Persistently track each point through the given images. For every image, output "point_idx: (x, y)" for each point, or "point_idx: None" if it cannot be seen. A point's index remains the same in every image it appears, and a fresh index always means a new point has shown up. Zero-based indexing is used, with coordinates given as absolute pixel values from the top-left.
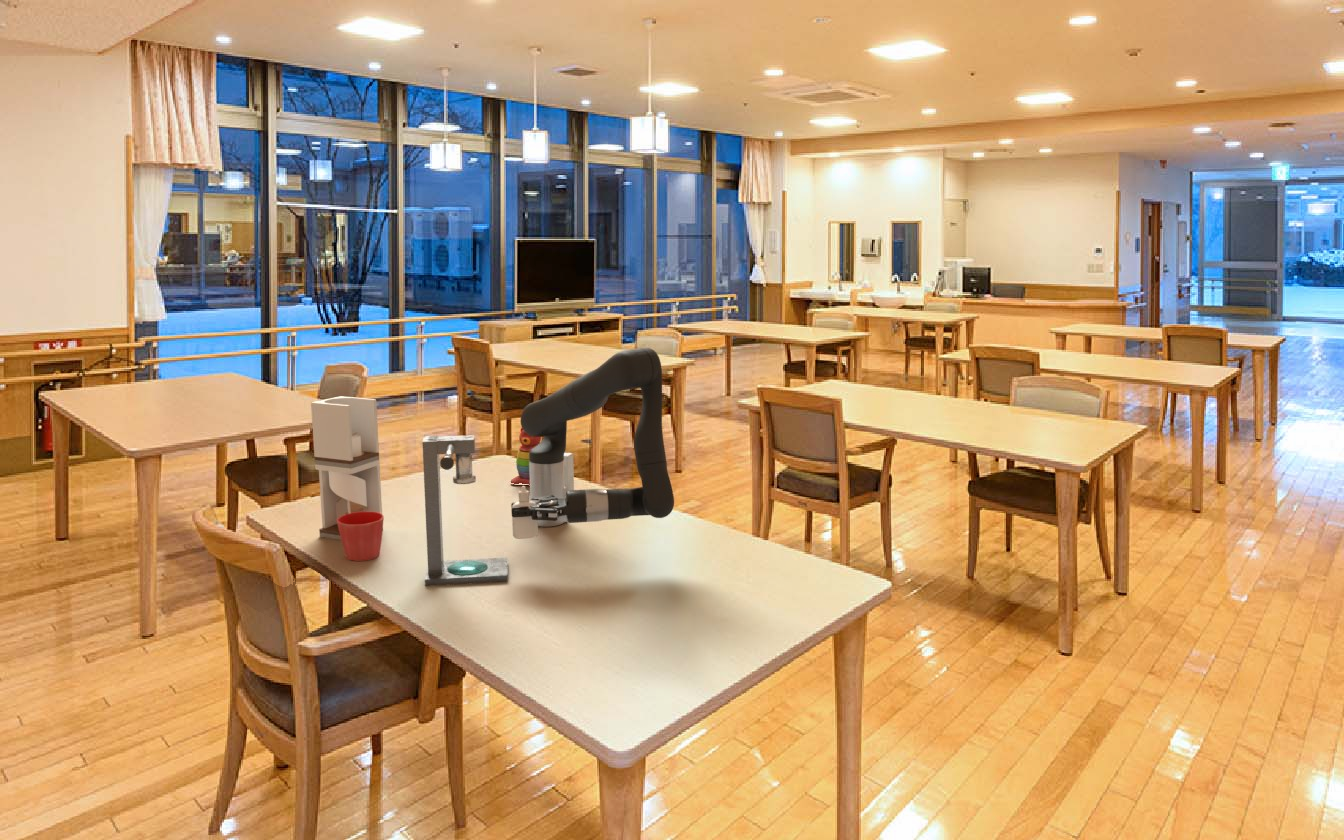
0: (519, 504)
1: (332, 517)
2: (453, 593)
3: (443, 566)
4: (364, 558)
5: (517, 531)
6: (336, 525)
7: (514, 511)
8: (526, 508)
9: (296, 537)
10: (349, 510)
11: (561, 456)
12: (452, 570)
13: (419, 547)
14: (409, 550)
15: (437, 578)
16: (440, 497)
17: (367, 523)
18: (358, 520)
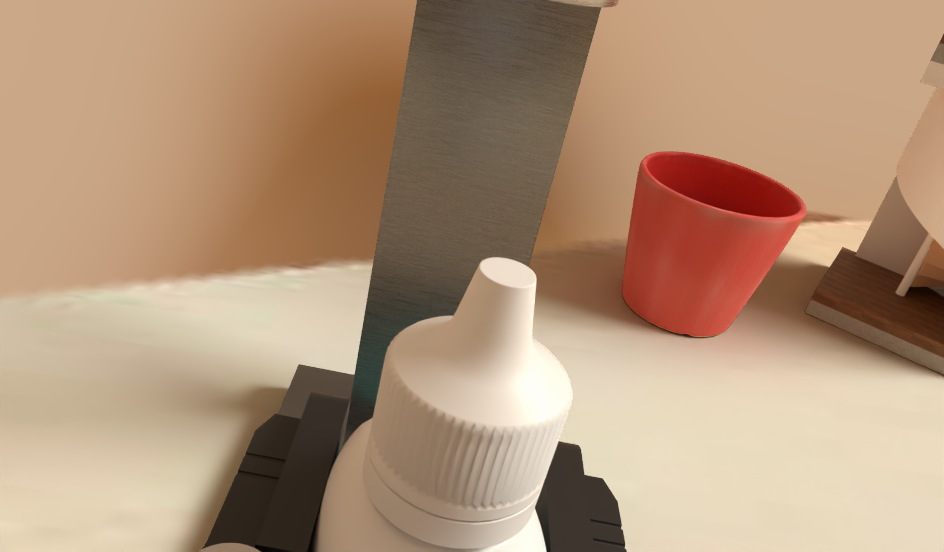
0: (360, 442)
1: (901, 247)
2: (130, 459)
3: None
4: (626, 295)
5: None
6: (891, 274)
7: (272, 429)
8: (261, 541)
9: (813, 239)
10: (923, 245)
11: None
12: None
13: (796, 442)
14: (751, 410)
15: (289, 399)
16: (537, 86)
17: (658, 181)
18: (771, 216)
